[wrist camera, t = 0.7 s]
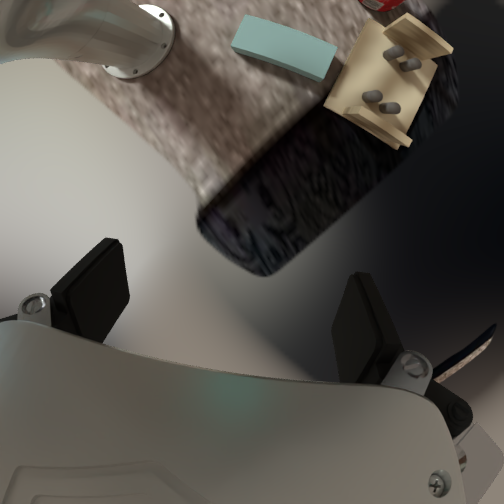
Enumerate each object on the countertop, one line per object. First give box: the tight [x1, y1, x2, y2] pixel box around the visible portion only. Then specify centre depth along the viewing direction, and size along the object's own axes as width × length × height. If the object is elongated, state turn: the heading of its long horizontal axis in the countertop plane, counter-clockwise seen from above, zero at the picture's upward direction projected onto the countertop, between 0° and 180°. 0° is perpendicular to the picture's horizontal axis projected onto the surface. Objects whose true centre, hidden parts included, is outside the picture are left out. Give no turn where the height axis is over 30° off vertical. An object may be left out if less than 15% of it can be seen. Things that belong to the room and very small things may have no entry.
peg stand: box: [323, 13, 453, 150], centre depth 26 cm, size 12×16×9 cm
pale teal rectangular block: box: [231, 14, 338, 82], centre depth 28 cm, size 12×5×4 cm, turn 69°
